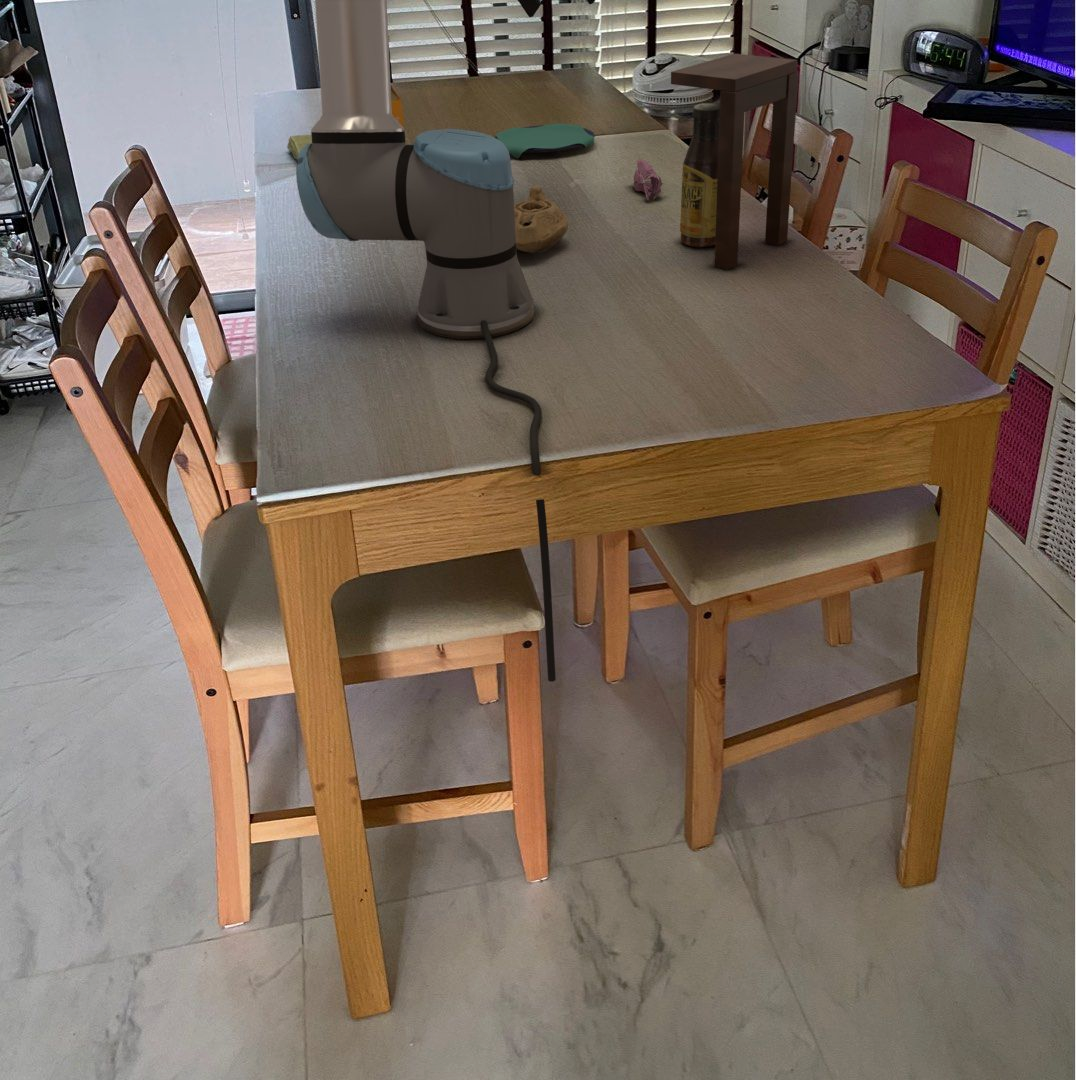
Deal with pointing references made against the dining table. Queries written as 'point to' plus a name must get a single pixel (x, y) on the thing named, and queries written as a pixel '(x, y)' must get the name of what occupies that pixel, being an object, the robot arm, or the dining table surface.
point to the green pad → (545, 138)
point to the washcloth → (298, 143)
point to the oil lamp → (538, 222)
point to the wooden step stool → (742, 90)
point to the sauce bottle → (701, 179)
